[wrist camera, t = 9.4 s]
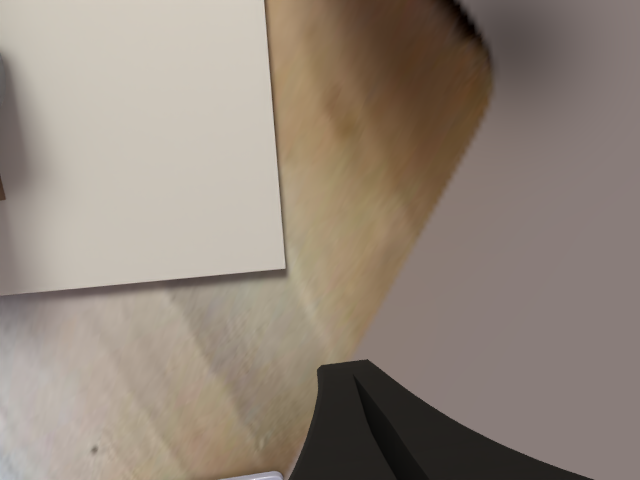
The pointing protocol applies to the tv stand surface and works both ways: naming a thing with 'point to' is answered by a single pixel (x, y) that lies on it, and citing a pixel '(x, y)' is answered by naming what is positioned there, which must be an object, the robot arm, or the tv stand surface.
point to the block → (2, 191)
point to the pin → (2, 81)
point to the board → (135, 143)
